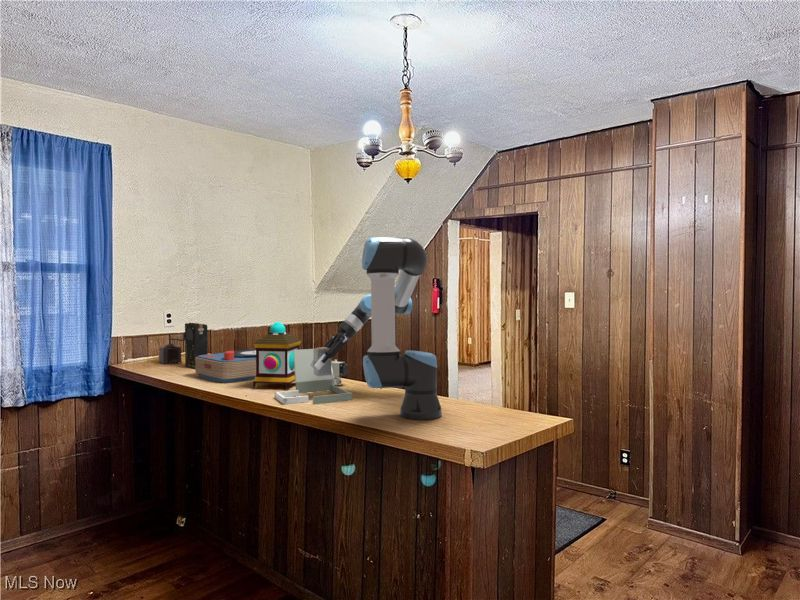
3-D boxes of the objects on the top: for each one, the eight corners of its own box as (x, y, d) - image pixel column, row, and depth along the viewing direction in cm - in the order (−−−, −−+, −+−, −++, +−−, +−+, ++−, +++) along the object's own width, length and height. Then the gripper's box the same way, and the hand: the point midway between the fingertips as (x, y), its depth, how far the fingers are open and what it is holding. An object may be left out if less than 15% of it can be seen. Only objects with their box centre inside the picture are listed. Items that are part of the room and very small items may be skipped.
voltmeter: (183, 366, 320) (182, 322, 320) (198, 364, 326) (197, 322, 326) (194, 369, 309) (194, 324, 308) (209, 367, 315) (209, 323, 314)
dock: (308, 402, 226) (308, 395, 226) (284, 404, 221) (284, 398, 221) (298, 395, 238) (298, 389, 238) (274, 398, 234) (274, 392, 233)
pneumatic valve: (342, 387, 258) (342, 361, 257) (322, 384, 264) (322, 359, 263) (349, 385, 263) (349, 359, 262) (329, 382, 269) (329, 358, 268)
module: (331, 375, 235) (331, 347, 234) (317, 376, 232) (317, 348, 232) (327, 373, 239) (326, 346, 239) (313, 374, 237) (313, 347, 237)
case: (354, 400, 230) (354, 354, 229) (313, 404, 222) (313, 357, 221) (330, 388, 254) (330, 347, 253) (293, 392, 246) (293, 349, 245)
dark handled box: (164, 364, 327) (163, 334, 327) (158, 362, 336) (157, 332, 335) (190, 362, 337) (190, 332, 337) (184, 360, 346) (184, 331, 345)
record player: (263, 366, 321) (263, 340, 320) (300, 374, 296) (300, 345, 296) (189, 376, 290) (189, 347, 289) (224, 385, 265) (224, 353, 264)
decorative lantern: (290, 390, 249) (290, 323, 248) (248, 389, 252) (248, 323, 251) (305, 383, 269) (305, 320, 268) (267, 381, 272) (266, 320, 271)
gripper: (364, 334, 234) (327, 375, 227) (347, 331, 251) (313, 370, 243) (352, 321, 232) (315, 363, 224) (336, 320, 248) (301, 359, 241)
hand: (314, 367), depth 234 cm, fingers closed on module, 5 cm apart
